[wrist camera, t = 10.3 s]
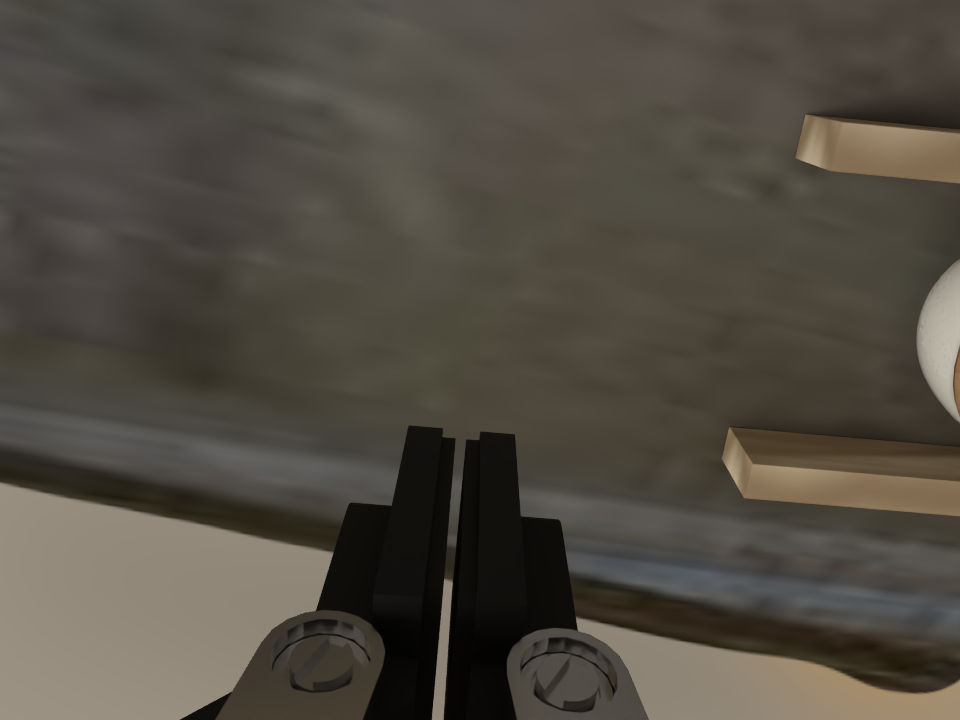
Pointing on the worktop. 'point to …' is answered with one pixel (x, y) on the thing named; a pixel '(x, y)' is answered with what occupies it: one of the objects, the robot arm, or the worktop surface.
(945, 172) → the bar
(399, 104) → the worktop surface
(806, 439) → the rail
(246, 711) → the robot arm
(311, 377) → the worktop surface
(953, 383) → the lidded jar
